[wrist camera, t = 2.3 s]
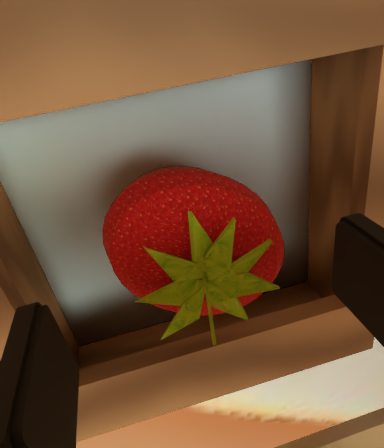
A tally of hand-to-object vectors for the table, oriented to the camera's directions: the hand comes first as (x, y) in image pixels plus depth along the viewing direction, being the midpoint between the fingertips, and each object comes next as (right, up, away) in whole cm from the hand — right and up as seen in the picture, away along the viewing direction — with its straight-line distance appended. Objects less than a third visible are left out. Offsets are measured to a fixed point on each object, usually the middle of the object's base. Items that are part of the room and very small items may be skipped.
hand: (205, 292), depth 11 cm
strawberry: (-1, +4, +8) cm, 9 cm away
